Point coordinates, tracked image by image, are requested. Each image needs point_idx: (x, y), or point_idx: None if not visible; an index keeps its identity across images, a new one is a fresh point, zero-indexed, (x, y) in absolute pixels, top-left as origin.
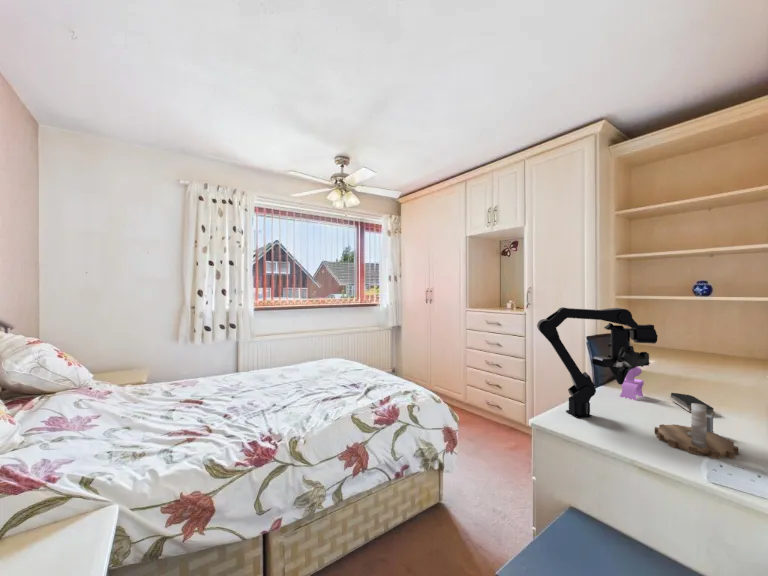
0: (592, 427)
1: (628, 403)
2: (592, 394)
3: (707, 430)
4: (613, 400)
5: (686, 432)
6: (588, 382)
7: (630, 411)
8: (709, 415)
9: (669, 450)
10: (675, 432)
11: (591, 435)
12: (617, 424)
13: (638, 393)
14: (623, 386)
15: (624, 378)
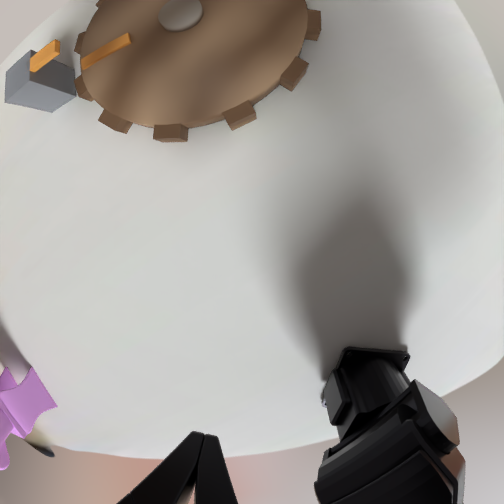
0: (441, 269)
1: (65, 371)
2: (404, 412)
3: (63, 70)
4: (94, 406)
5: (163, 46)
6: (451, 468)
7: (112, 331)
8: (9, 75)
9: (356, 25)
10: (212, 52)
11: (493, 220)
12: (317, 256)
13: (8, 381)
14: (31, 419)
15: (160, 476)
